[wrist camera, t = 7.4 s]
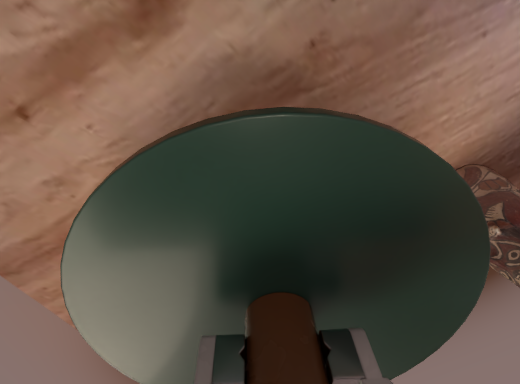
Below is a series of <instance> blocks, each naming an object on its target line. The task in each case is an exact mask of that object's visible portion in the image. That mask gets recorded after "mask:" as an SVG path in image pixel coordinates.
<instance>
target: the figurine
mask: <svg viewBox="0 0 520 384" xmlns="http://www.w3.org/2000/svg"><path fill="white" fill-rule="evenodd" d="M456 171H457V172H458V174H459V175H460V176H461V177H462V178H463V179H464V180H465V181H466V182H467V183H468V185H469V186H470V188H471V190H472V191H473V193H474V195H475V196H476V198H477V200H478V201H479V203H480V205H481V207H482V210H483V213H484V216H485V219H486V222H487V225H488V228H489V237H490V245H491V252H490V264H489V266H491V267H492V268H493V269H494V270H496V271H497V272H498V273H500V274H501V275H502V276H504V277H505V278H507V279H508V280H510V281H511V282H513V283H514V284H516V285H517V286H518V287H520V190H518V189H517V188H516V187H515V186H514V185H513V184H512V183H511V182H510V181H508V180H507V179H506V178H505V177H503V176H502V175H500V174H499V173H497V172H496V171H494V170H492V169H489V168H487V167H484V166H480V165H467V166H464V167H462V168H460V169H457V170H456Z"/></svg>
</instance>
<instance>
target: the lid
mask: <svg viewBox="0 0 520 384" xmlns="http://www.w3.org/2000/svg"><path fill="white" fill-rule="evenodd" d="M490 252H491V245H490V237H489V228H488V225H487V222H486V219H485V216H484V213H483V210H482V207H481V205H480V203H479V201H478V200H477V198H476V196H475V195H474V193H473V191H472V190H471V188H470V186H469V185H468V183H467V182H466V181H465V180H464V179H463V178H462V177H461V176H460V175H459V174H458V172H457V171H456V170H455V169H454V168H453V167H452V166H451V165H450V164H449V163H448V162H446V161H445V160H444V159H442V158H441V157H440V156H438V155H437V154H436V153H434V152H433V151H432V150H430V149H429V148H428V147H426V146H425V145H424V144H422V143H421V142H419V141H418V140H416V139H414V138H412V137H410V136H408V135H406V134H405V133H403V132H401V131H399V130H397V129H395V128H393V127H391V126H388V125H385V124H382V123H379V122H377V121H374V120H371V119H368V118H365V117H362V116H359V115H354V114H348V113H343V112H337V111H332V110H326V109H319V108H296V107H277V108H266V109H255V110H244V111H239V112H235V113H231V114H226V115H222V116H217V117H213V118H208V119H205V120H202V121H200V122H197V123H194V124H192V125H189V126H186V127H183V128H181V129H178V130H175V131H173V132H171V133H169V134H167V135H165V136H163V137H161V138H160V139H158V140H156V141H154V142H152V143H150V144H148V145H147V146H145V147H143V148H141V149H140V150H139V151H137V152H136V153H135V154H133V155H132V156H131V157H129V158H128V159H127V160H125V161H124V162H123V163H121V164H120V165H119V166H117V167H116V168H115V169H114V170H113V171H112V172H111V173H110V174H109V175H108V176H107V177H106V178H105V180H104V181H103V182H102V183H101V184H100V185H99V186H98V187H97V188H96V189H95V190H94V191H93V193H92V194H91V195H90V196H89V197H88V199H87V200H86V202H85V203H84V205H83V206H82V208H81V209H80V211H79V213H78V214H77V216H76V217H75V219H74V221H73V223H72V226H71V228H70V230H69V233H68V235H67V238H66V240H65V243H64V249H63V254H62V260H61V288H62V292H63V297H64V301H65V305H66V308H67V310H68V312H69V315H70V317H71V319H72V321H73V323H74V325H75V327H76V328H77V330H78V331H79V333H80V334H81V336H82V337H83V339H84V340H85V341H86V342H87V343H88V344H89V345H90V347H91V348H92V349H93V350H94V351H95V352H96V353H97V354H98V355H99V356H100V357H102V358H103V359H104V360H105V361H106V362H107V363H108V364H110V365H111V366H112V367H114V368H115V369H117V370H118V371H120V372H121V373H123V374H124V375H125V376H127V377H129V378H131V379H133V380H135V381H137V382H138V383H140V384H194V380H195V373H196V366H197V359H198V352H199V345H200V340H201V337H202V336H204V335H230V334H245V356H246V357H245V384H329V381H328V376H327V372H326V368H325V363H324V359H323V354H322V350H321V346H320V341H319V337H318V333H319V331H320V330H329V329H344V328H347V329H349V328H362V329H363V330H364V331H365V333H366V335H367V338H368V340H369V343H370V346H371V348H372V351H373V353H374V356H375V359H376V361H377V364H378V366H379V369H380V372H381V374H382V377H383V378H388V379H389V380H391V379H393V378H395V377H397V376H399V375H401V374H403V373H405V372H406V371H408V370H409V369H411V368H413V367H414V366H416V365H417V364H419V363H420V362H422V361H424V360H425V359H426V358H427V357H429V356H430V355H431V354H433V353H434V352H435V351H437V350H438V349H439V348H440V347H441V346H442V345H443V344H444V343H445V342H446V341H448V340H449V339H450V338H451V337H452V336H453V335H454V333H455V332H456V331H457V330H458V329H459V328H460V326H461V325H462V324H463V323H464V322H465V320H466V319H467V317H468V316H469V314H470V313H471V311H472V310H473V308H474V307H475V305H476V303H477V301H478V299H479V297H480V294H481V292H482V290H483V288H484V285H485V281H486V278H487V274H488V271H489V264H490Z"/></svg>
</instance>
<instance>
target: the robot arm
mask: <svg viewBox="0 0 520 384" xmlns="http://www.w3.org/2000/svg"><path fill="white" fill-rule="evenodd" d="M318 337H319V341H320V346H321V350H322V354H323V359H324V363H325V368H326V372H327V376H328V381H329V384H393V383H392V382H391V381H390V380H389V379H388V378H383V377H382V374H381V372H380V369H379V366H378V364H377V361H376V359H375V356H374V353H373V351H372V348H371V346H370V343H369V340H368V338H367V335H366V333H365V331H364V330H363V329H362V328H349V329H347V328H344V329H329V330H320V331H319V333H318ZM245 357H246V356H245V334H230V335H204V336H202V337H201V340H200V345H199V352H198V359H197V366H196V373H195V380H194V384H245Z"/></svg>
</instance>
